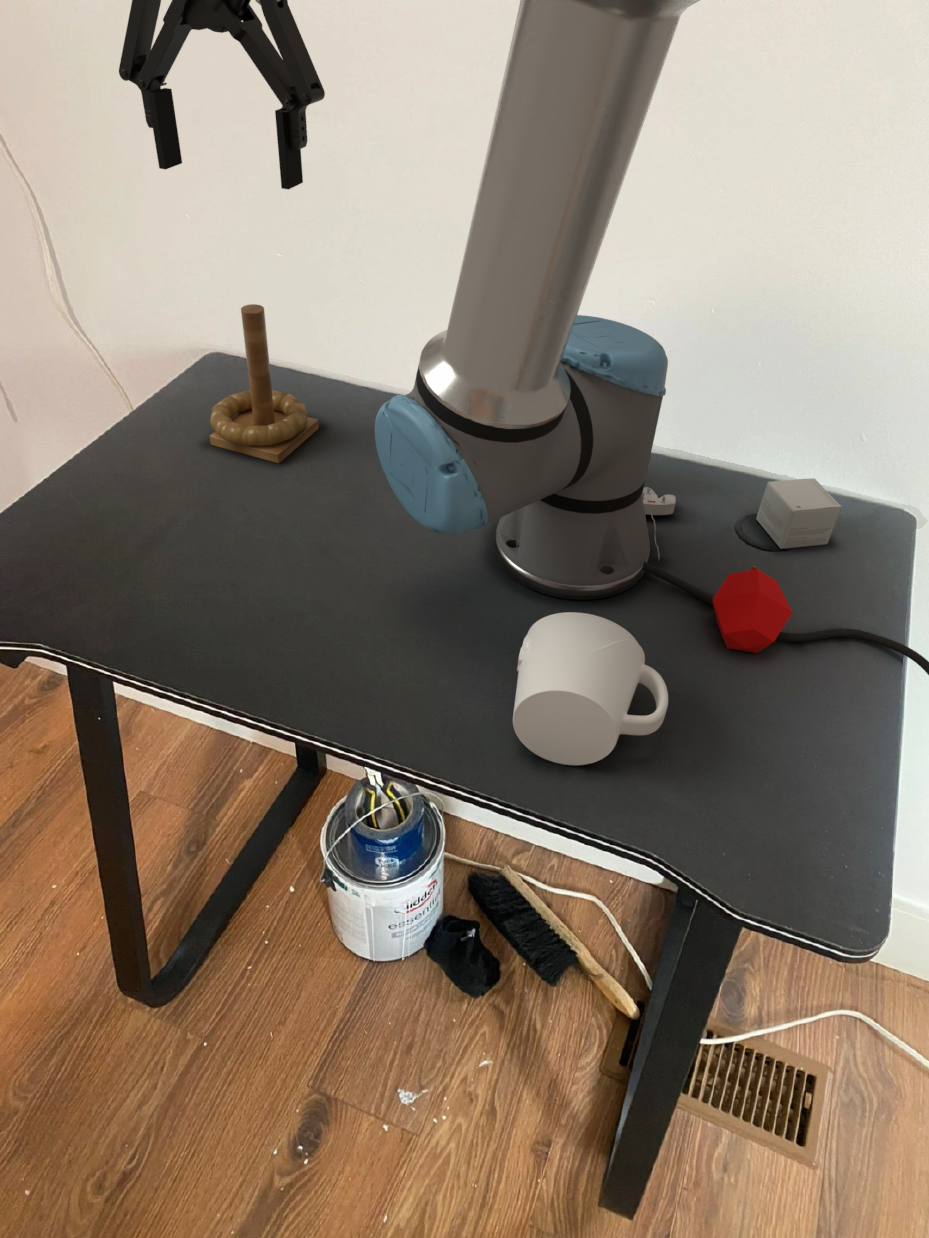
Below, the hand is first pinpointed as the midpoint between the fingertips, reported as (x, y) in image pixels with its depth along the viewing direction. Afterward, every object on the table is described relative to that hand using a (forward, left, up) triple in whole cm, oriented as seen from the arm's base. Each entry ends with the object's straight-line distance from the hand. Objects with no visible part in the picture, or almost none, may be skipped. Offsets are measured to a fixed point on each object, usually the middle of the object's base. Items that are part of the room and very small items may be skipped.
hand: (230, 176), depth 89 cm
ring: (0, 0, -26) cm, 26 cm away
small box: (-60, -8, -28) cm, 67 cm away
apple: (-58, +11, -28) cm, 65 cm away
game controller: (-46, -2, -28) cm, 54 cm away
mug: (-48, +28, -28) cm, 62 cm away
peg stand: (-1, 0, -28) cm, 28 cm away
